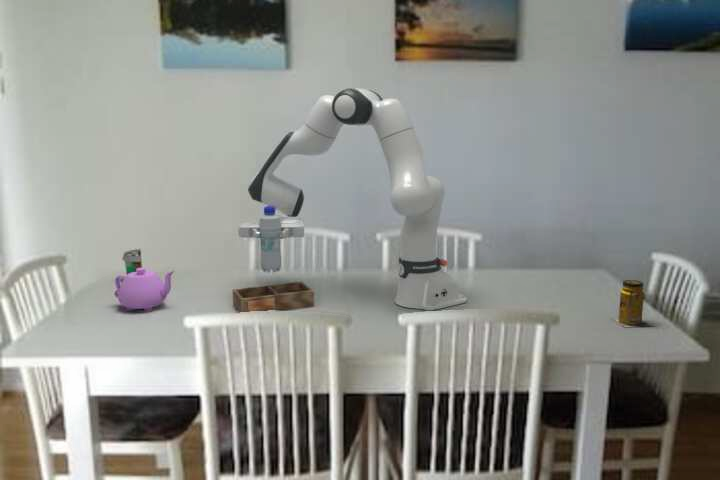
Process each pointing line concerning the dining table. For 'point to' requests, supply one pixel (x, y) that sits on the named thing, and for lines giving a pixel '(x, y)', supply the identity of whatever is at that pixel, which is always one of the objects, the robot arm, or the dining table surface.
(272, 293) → the crate
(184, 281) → the dining table surface
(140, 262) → the food container
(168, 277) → the teapot
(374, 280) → the dining table surface
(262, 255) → the bottle
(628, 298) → the condiment
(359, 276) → the dining table surface
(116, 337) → the dining table surface
